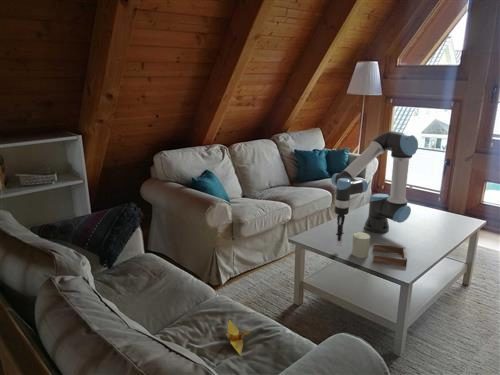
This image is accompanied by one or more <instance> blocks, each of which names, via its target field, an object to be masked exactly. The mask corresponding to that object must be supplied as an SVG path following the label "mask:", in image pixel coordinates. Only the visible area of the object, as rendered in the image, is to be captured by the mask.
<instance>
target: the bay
mask: <svg viewBox="0 0 500 375" xmlns="http://www.w3.org/2000/svg"><path fill="white" fill-rule="evenodd" d="M406 250H407V249H406V247H404V246H403V247H402V246H396V245H387V244H381V243H373V248H372V251H373V252H379V253H380V252H381V253H387V254H395V255H401V256H402V257H393V256H386V255H380V254H373V256H372V263H377V264H382V265H383V264H385V265H391V266H392V265H393V266H399V267H407V264H408V256H407V251H406Z"/></svg>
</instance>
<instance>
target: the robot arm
mask: <svg viewBox="0 0 500 375" xmlns="http://www.w3.org/2000/svg"><path fill="white" fill-rule="evenodd" d="M418 149H419V142H418V139H417V137H416V136H415V135H413V134H410V133H408V132H407V133H405V132H400V131H395V130H389V131H385V132H383V133H381V134H380V135H378V136H377V137H375V138H374V139H373V140H372V141H371V142H369V146H368V147H367V148H365V150H364V151H362V152H361V153H360V154H359V155H358V156H357V157H356V158H355V159H354V160H353V161H352V162H351V163H350V164H348V165H347V167H346V168H345V169H344V170H342V171H341V172H340V173H339V172H338V173H337V172H336V173H334V174H332V177H331V180H330V181H331V184H332V185H334V186H335V199H334V200H333V201H334V203H335V206H334V213H335V214H336V215H337V216H336V220H337V222H336V223H337V224H336V225H337V233H335V235H336V243H335V244H336V246H338V247H339V246H340V247H341V246H342V240H343V235H344V232H343V231H344V230H343V229H344V224H345V220H346V219H345V218H346V216H345V215H348V214H349V210H350V209H349V208H350V199H351V198H350V197H351V196H352V195H358V194H359V195H360V194H363V193H365V192H367V191H368V188H369V185H368V182H367V180H365V179H363V178H360V179H355V178H356V177H357V176H358V175H359V174H360V173H361V172H362V171H364V169H366V167H368V166H369V165H370V163H372V162H373V161H374V160H375V159H376V158H377V157H378V156H379V155H382V154H384V152H388V151H389V152H391V153H390V156H391V158H392V159H393V162H392V169H391V170H392V171H391V180H390V181H391V183H390V194H387V193H374V194H371V196H370V197H369V198H370V199H369V203H368V204H369V206H368V215H367V216H368V217H367V218H366V220H365V223H364V228H365V230H367V231H368V232H372V233H376V234H377V233H378V234H379V233H381V234H382V233H383V234H384V233H387V232H389V230H390V223H389V221H388V220H391V221H393V222H395V223H399V224H401V223H403V222H406V221H407V220H408V218H409V217H410V216H411V212H412V210H411V207H410V205H408V199H407V198H406V193H407V185H408V184H407V183H408V175H409V174H408V173H409V164H410V162H409V161H410V159H412V157H413V156H414V155H415V154H416V153H417V151H418Z"/></svg>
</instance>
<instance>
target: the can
mask: <svg viewBox="0 0 500 375" xmlns="http://www.w3.org/2000/svg"><path fill="white" fill-rule="evenodd" d="M352 236H353V239H352V250H351V255H352V257H353V256H354V257H356V258H359V259H365V258H367V257H369V252H370V251H369V250H370V241H371V235H370V234H369V233H366V232H362V231H361V232H359V231H358V232H355V233H353V235H352Z"/></svg>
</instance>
